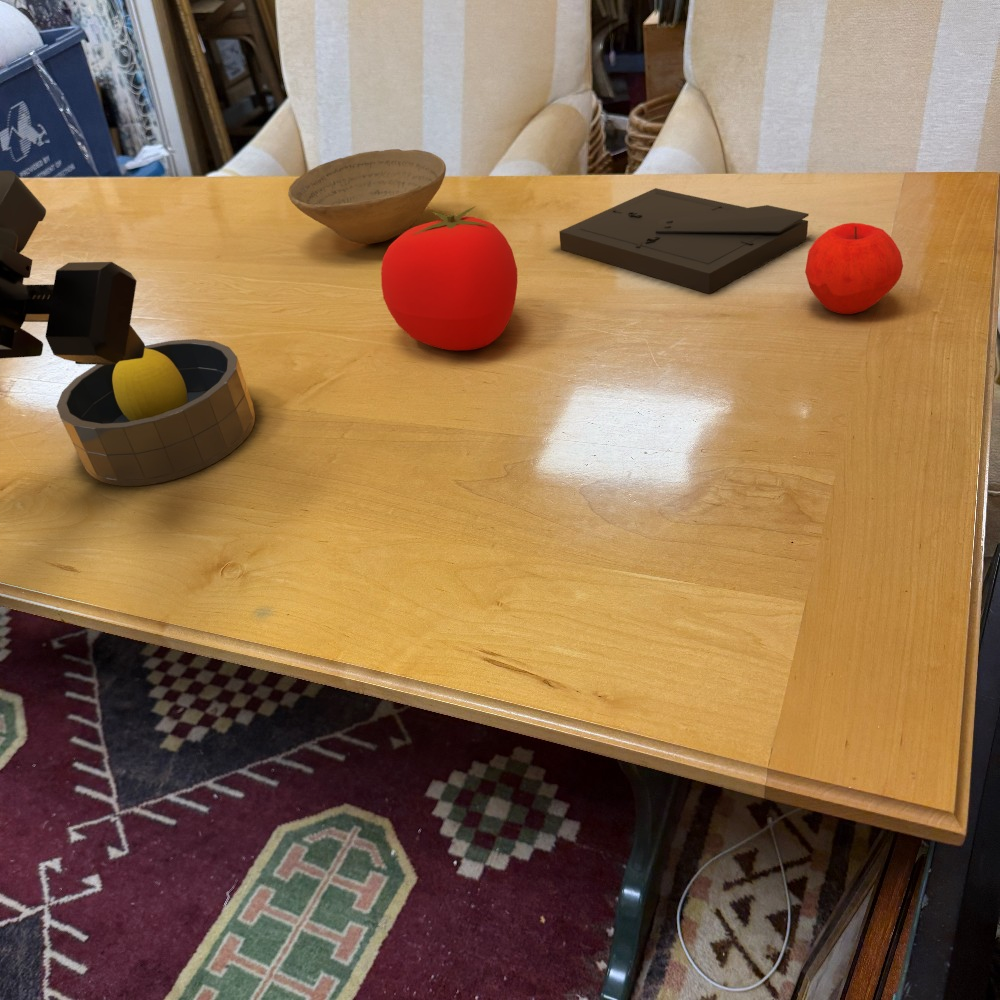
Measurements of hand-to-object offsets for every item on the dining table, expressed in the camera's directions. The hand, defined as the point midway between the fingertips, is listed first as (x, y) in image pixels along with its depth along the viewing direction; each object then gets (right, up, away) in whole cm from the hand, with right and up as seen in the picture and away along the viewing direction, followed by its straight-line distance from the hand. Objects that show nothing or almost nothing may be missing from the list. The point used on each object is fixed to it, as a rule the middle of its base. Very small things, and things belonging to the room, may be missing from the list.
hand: (90, 350), depth 69 cm
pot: (+3, -6, +10) cm, 12 cm away
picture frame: (+50, +16, +30) cm, 61 cm away
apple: (+62, +6, +13) cm, 64 cm away
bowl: (+16, +20, +43) cm, 50 cm away
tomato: (+27, +4, +18) cm, 33 cm away
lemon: (+2, -6, +9) cm, 11 cm away
